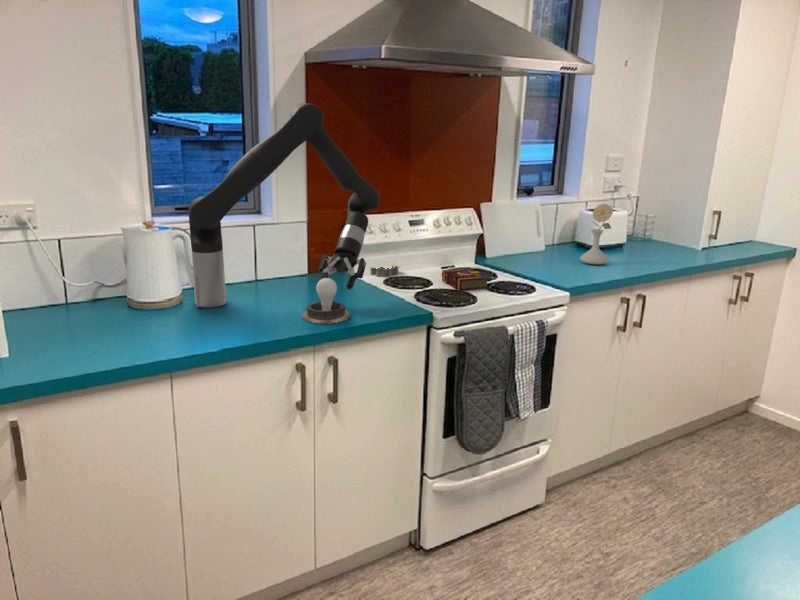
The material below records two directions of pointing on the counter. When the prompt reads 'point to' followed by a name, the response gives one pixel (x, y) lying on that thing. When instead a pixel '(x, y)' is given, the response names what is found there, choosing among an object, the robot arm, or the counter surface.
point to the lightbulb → (326, 292)
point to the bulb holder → (325, 313)
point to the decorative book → (465, 279)
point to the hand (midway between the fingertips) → (335, 286)
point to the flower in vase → (598, 236)
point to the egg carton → (384, 271)
